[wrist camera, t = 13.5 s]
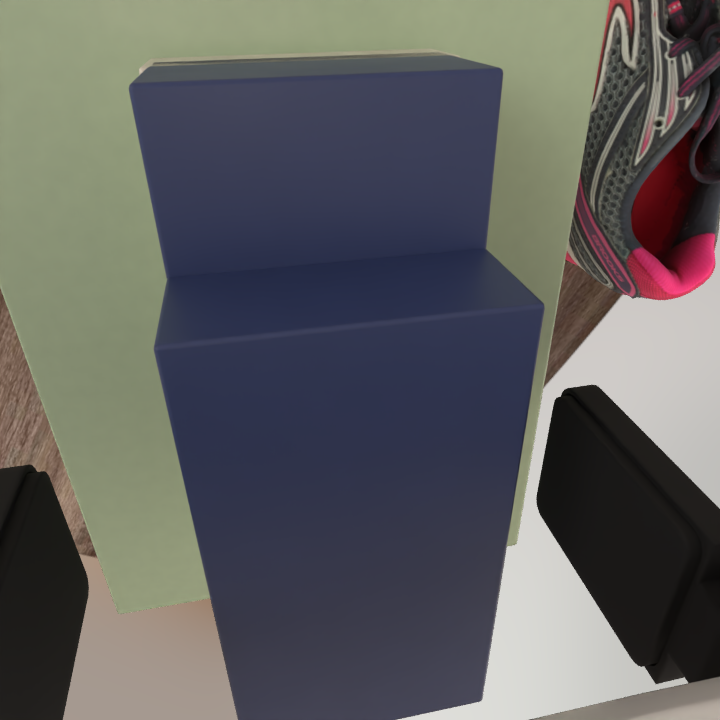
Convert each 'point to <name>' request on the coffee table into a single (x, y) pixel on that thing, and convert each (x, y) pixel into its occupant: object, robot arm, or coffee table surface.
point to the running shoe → (652, 151)
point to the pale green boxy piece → (140, 238)
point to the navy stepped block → (340, 367)
